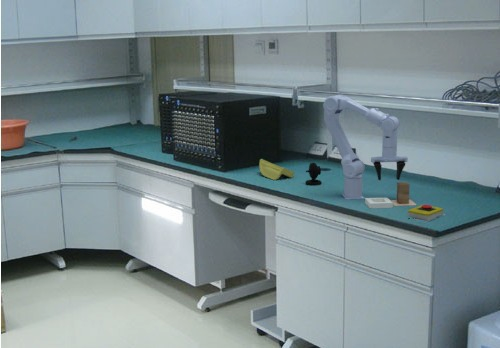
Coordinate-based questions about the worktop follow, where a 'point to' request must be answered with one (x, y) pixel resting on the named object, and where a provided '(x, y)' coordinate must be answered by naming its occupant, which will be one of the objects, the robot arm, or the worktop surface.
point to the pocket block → (378, 203)
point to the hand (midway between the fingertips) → (388, 179)
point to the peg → (403, 192)
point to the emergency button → (425, 212)
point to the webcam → (313, 174)
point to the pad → (402, 204)
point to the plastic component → (273, 170)
